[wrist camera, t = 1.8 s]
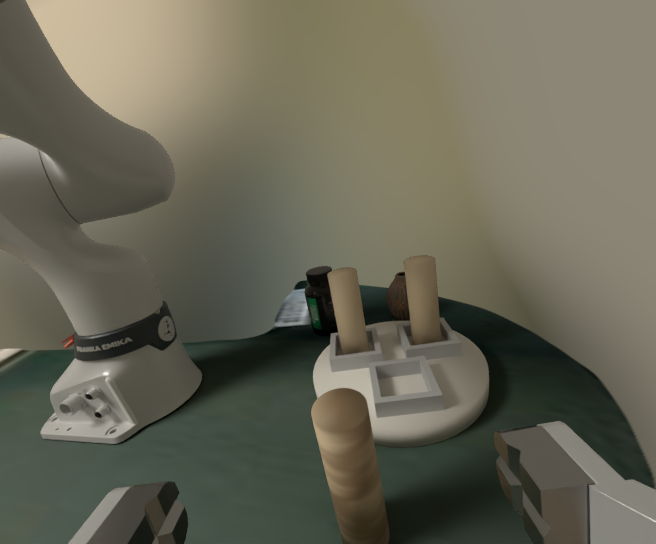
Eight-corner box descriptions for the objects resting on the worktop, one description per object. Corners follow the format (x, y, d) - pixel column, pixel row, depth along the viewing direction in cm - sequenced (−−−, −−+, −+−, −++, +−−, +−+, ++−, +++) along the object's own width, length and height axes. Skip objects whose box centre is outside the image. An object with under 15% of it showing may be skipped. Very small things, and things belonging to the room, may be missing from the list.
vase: (381, 318, 60) (375, 276, 57) (405, 305, 63) (400, 265, 60) (409, 329, 54) (404, 283, 51) (433, 314, 58) (430, 270, 55)
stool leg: (341, 563, 24) (308, 433, 20) (341, 508, 28) (313, 391, 24) (393, 559, 23) (370, 426, 19) (385, 504, 27) (365, 384, 23)
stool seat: (309, 458, 33) (276, 333, 28) (321, 343, 55) (303, 262, 50) (530, 434, 31) (535, 295, 26) (451, 325, 53) (446, 238, 48)
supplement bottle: (318, 340, 56) (305, 280, 52) (309, 325, 62) (296, 270, 59) (352, 329, 58) (342, 269, 54) (340, 315, 64) (330, 261, 60)
